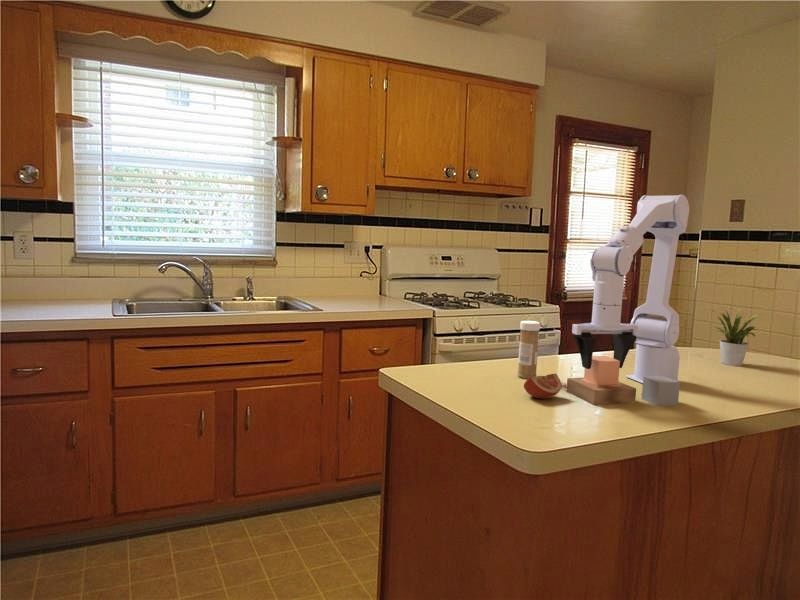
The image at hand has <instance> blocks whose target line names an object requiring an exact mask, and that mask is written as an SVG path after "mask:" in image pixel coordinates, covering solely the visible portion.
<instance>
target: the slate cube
mask: <svg viewBox="0 0 800 600" xmlns="http://www.w3.org/2000/svg"><path fill="white" fill-rule="evenodd" d="M680 385H681V381H679V380H677V381H676V380H673V379H671V378H668V377H665V376H644V377H643V383H642V388H641V400H642V401H644V402H648V403H650V404H652V405H654V406H656V407H662V406H663V407H665V406H666V405H668V406H678V405H679V396H680Z"/></svg>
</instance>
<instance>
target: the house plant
mask: <svg viewBox="0 0 800 600" xmlns="http://www.w3.org/2000/svg"><path fill="white" fill-rule="evenodd" d="M741 308H742V306H740V307H739V309H738V310H737V312H736V315H735V318H734V322H733V326H732V322H731V318H730V315H729V312H728V311H727V310H726V309H722V310H720V312H719V315H721V316H722V317H720V316H716V318H717V319H718V321H720V322H721V324H722V326H723V328H724V329H723V328H720V326H719V327H718V326H713V327H712V329H717V330H719V332H720V333H723V336H725V338H726V339H720V340H719V350H720V363H721V364H723V365H727V366H732V367H733V366H734V367H741V366H743V364H744V359H745V357H746V353H747V350H748V347H749V343H748V342H746V341H744V339H745V337H746V338H749V335H751V336H753V338H756V334H755V332H752V331H756V330H757V331H758V328H756V326H754V325H753V326H751V325H750V326H748V325H749V324H750V323H751V322H753V321H754V320H755V319H756V318H759V317H758V316H760V315H761V314H755V315H753V316H751V317H750V318H748V319H747V320H746V321H745V322H744V323H743V324H742V326H741V321H742V319H743V318H744V317H742V316H743V314H742V315H741V313H740V310H741ZM706 310H708V311H709V309H708V308H706ZM710 311H712V312H713V313H715V314H717V312H716V311H714V310H712V309H710ZM724 311H725V312H726V314H727V315H726V314H725V312H724ZM746 312H747V311H745V312H744V314H746ZM722 318H723V319H722ZM723 320H724V321H725V322H724V321H723ZM740 326H741V328H740ZM747 326H748V327H747Z"/></svg>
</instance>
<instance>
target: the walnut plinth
mask: <svg viewBox="0 0 800 600" xmlns="http://www.w3.org/2000/svg"><path fill="white" fill-rule="evenodd" d="M565 391H566V393H568V394H570V395H572V396H575V397H577V398H579V399H580V400H582V401H585V403H588V404H591V405H593V406H600V405H601V406H603V405H621V404H622V405H623V404H635V403H636V396H637V395H636V394H637V388H636V387H633V386H631V385H629V384H626V383H624V382H621V381H619V380H618V384H612V385H596V384H594V383H591V382H589V381H587V380H585V379H584V377H567V380H566V389H565Z"/></svg>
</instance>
